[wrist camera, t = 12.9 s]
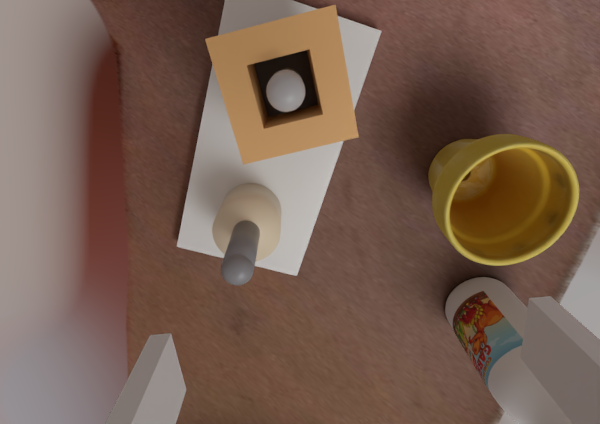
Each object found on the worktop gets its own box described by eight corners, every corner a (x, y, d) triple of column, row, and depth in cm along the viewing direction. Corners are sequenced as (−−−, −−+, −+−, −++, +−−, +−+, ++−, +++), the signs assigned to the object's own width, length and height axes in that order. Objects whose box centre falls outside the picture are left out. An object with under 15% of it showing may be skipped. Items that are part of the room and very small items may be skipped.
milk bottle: (495, 263, 42) (655, 427, 24) (518, 310, 45) (676, 491, 26) (432, 294, 44) (536, 471, 25) (457, 338, 46) (568, 528, 28)
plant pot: (393, 205, 39) (423, 251, 30) (432, 106, 35) (481, 125, 26) (483, 228, 40) (538, 279, 31) (530, 135, 36) (609, 162, 27)
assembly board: (296, 270, 42) (298, 359, 30) (179, 241, 40) (131, 323, 28) (378, 31, 33) (430, 19, 20) (231, -19, 31) (193, -66, 19)
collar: (348, 124, 30) (358, 137, 25) (250, 147, 30) (243, 164, 26) (327, 12, 27) (335, 4, 22) (219, 41, 27) (204, 38, 23)
